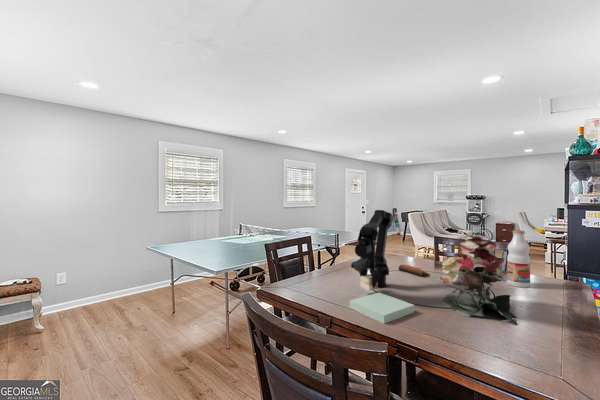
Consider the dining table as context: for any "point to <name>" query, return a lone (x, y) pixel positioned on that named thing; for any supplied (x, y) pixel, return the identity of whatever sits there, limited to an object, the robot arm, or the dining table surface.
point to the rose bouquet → (476, 279)
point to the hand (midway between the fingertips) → (369, 285)
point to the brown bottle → (413, 270)
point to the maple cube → (367, 283)
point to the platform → (382, 307)
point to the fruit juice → (518, 261)
